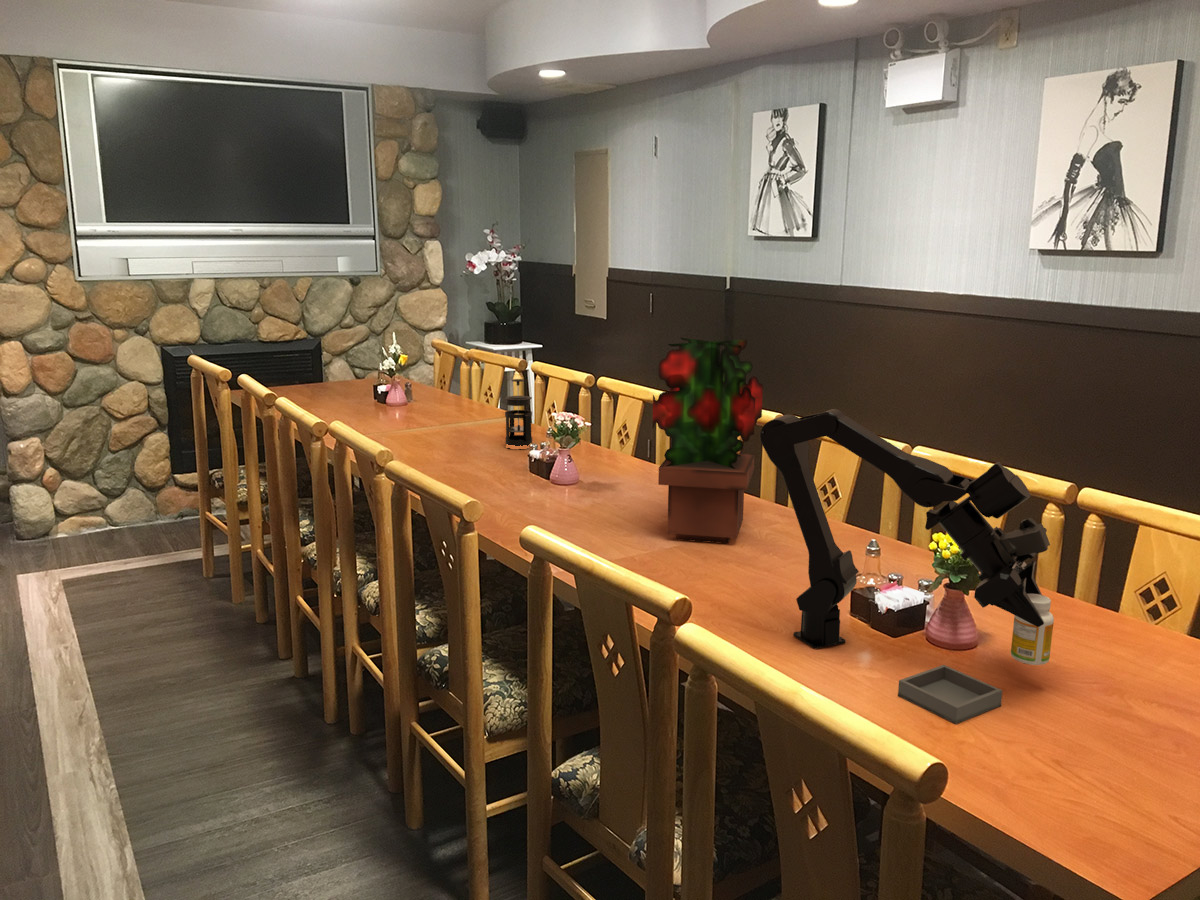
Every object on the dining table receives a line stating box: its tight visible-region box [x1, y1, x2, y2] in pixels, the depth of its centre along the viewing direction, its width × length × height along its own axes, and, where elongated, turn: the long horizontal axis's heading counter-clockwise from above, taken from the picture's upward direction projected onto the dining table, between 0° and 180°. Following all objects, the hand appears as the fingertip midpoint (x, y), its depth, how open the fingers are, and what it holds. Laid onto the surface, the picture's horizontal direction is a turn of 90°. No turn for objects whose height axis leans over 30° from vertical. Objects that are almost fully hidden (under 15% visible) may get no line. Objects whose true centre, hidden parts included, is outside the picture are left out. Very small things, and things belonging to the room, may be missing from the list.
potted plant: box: [652, 337, 764, 544], centre depth 216 cm, size 22×22×45 cm
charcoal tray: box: [897, 664, 1003, 725], centre depth 139 cm, size 10×10×2 cm
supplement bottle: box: [1010, 594, 1055, 666], centre depth 142 cm, size 5×5×10 cm
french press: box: [504, 378, 533, 446], centre depth 314 cm, size 12×9×23 cm
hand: (1044, 618), depth 140 cm, fingers closed on supplement bottle, 5 cm apart
